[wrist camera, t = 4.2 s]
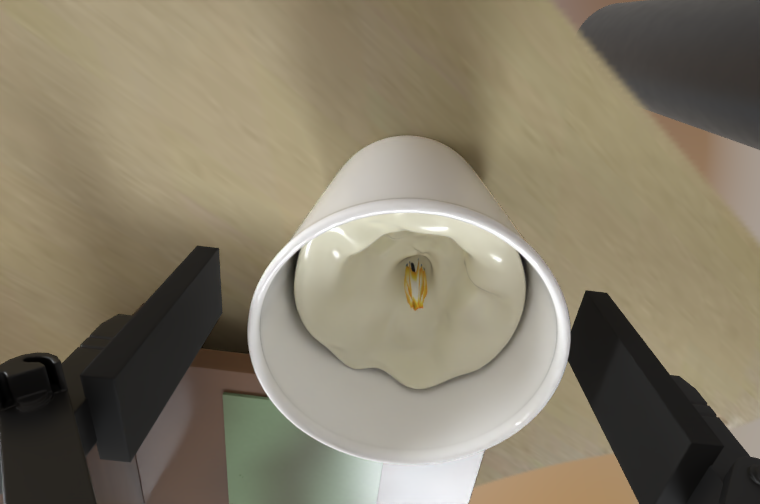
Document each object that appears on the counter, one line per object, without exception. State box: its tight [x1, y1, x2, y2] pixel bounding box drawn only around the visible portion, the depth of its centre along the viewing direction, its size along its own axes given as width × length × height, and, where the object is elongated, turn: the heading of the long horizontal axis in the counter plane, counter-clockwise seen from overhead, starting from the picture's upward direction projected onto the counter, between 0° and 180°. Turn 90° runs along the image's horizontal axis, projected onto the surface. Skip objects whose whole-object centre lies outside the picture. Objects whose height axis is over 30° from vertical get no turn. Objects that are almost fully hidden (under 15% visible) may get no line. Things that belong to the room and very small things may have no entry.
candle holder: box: [247, 135, 571, 465], centre depth 19 cm, size 10×10×12 cm
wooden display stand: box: [0, 303, 485, 504], centre depth 26 cm, size 21×12×12 cm, turn 84°
